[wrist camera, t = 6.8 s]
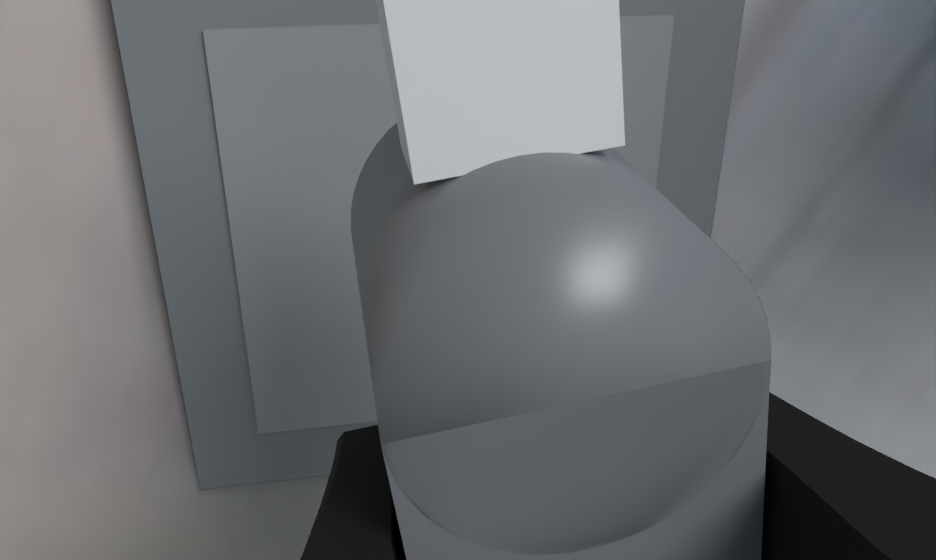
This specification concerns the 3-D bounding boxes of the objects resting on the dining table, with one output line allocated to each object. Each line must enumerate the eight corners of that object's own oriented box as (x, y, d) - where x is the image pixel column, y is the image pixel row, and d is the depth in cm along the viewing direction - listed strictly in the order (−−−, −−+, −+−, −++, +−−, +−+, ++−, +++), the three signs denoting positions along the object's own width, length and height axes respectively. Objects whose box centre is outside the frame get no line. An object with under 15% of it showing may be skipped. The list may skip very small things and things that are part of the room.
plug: (284, -81, 10) (273, -37, 6) (599, -130, 10) (794, -118, 6) (427, 594, 15) (473, 862, 11) (633, 546, 15) (749, 788, 11)
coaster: (740, -71, 17) (757, -68, 16) (673, 420, 22) (684, 436, 22) (106, -62, 15) (98, -58, 14) (202, 473, 20) (199, 492, 20)
